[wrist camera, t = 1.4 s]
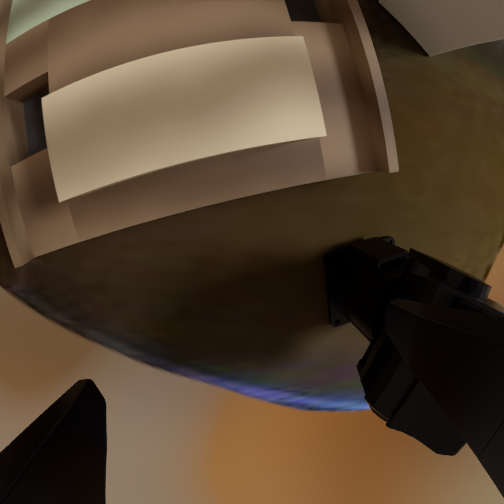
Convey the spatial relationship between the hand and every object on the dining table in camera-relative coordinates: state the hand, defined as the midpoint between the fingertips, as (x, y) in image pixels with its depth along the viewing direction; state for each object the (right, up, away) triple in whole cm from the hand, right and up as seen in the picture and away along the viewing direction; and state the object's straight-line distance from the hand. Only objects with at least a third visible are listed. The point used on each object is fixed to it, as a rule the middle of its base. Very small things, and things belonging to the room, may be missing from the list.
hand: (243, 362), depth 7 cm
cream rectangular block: (-4, +10, +6) cm, 12 cm away
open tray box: (-5, +16, +7) cm, 19 cm away
